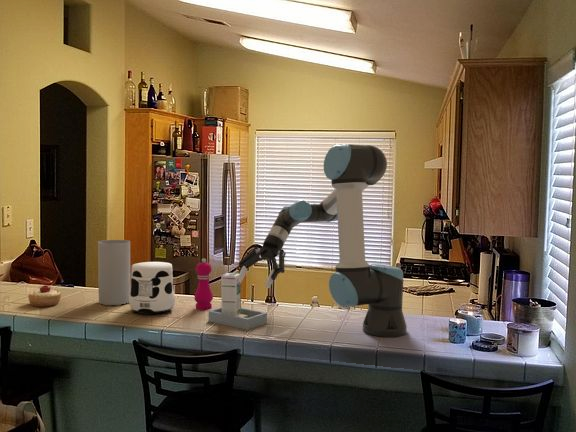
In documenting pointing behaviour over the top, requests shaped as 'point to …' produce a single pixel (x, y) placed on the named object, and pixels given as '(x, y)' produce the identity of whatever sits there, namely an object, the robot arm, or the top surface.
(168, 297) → the milk container
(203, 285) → the pepper mill
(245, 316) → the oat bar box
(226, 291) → the syrup box
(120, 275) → the cylinder vase
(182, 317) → the top surface
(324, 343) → the top surface
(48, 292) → the pastry
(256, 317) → the tray
